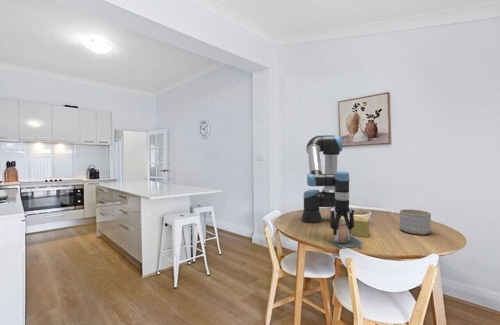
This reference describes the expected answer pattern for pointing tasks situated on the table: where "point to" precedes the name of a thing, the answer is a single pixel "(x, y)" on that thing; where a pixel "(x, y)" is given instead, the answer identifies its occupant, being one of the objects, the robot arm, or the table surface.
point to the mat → (342, 244)
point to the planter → (415, 221)
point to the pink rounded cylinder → (342, 233)
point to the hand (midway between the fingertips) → (342, 240)
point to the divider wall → (355, 241)
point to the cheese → (360, 227)
